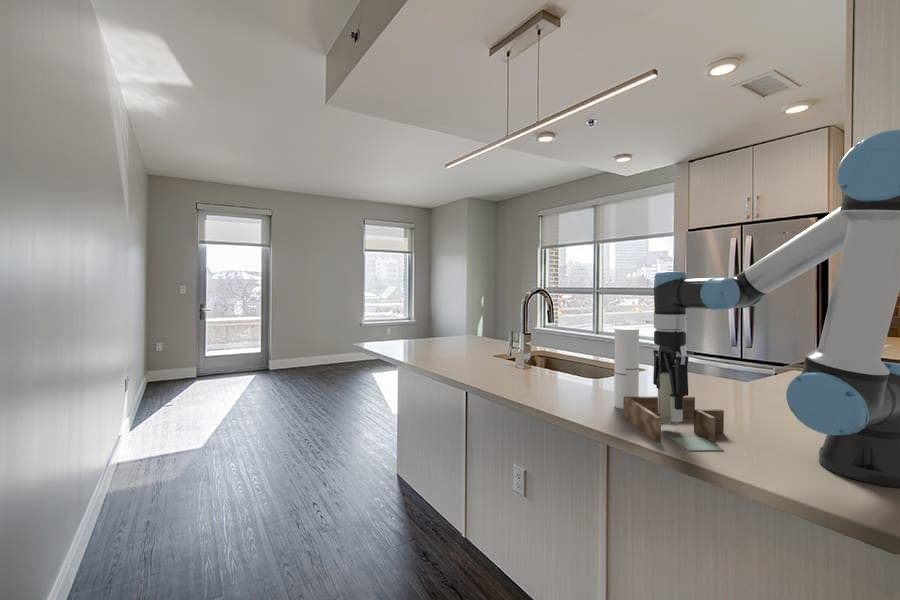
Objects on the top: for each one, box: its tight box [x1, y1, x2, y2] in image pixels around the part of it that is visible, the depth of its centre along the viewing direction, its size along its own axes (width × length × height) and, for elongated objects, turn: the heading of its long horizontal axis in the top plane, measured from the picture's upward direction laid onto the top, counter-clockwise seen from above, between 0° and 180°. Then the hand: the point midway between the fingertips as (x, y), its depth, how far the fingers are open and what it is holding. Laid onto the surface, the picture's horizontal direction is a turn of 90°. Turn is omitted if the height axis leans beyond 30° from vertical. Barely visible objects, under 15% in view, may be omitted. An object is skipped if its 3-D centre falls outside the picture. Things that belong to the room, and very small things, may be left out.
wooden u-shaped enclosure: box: [623, 395, 725, 443], centre depth 114 cm, size 20×20×6 cm
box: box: [660, 373, 680, 426], centre depth 112 cm, size 5×4×13 cm
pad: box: [670, 437, 724, 452], centre depth 102 cm, size 8×8×1 cm
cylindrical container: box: [613, 327, 640, 410], centre depth 135 cm, size 7×7×25 cm
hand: (669, 416), depth 112 cm, fingers closed on box, 6 cm apart
